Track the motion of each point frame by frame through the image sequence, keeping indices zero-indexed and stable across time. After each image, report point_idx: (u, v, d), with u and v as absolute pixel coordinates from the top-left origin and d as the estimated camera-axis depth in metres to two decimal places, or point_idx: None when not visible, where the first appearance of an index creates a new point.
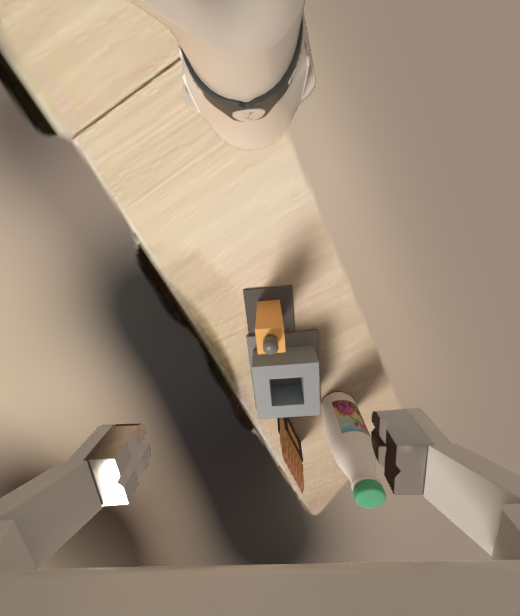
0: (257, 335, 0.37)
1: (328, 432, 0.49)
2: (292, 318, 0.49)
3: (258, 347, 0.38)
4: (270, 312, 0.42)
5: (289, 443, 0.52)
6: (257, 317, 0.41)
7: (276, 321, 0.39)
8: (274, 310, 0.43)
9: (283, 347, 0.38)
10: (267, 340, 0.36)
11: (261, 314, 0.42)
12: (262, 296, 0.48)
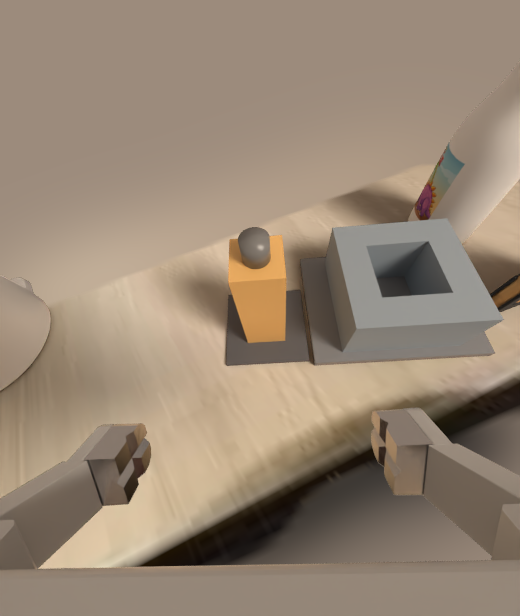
0: (242, 278, 0.19)
1: (480, 196, 0.26)
2: None
3: (269, 276, 0.19)
4: None
5: None
6: (237, 307, 0.22)
7: None
8: None
9: (271, 238, 0.20)
10: (239, 247, 0.18)
11: None
12: (240, 334, 0.30)
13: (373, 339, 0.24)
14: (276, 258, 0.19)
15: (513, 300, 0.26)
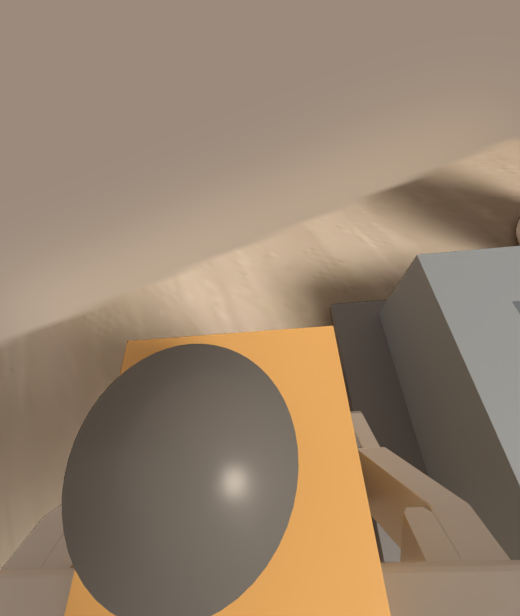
0: None
1: None
2: None
3: None
4: None
5: None
6: None
7: None
8: None
9: (291, 341, 0.05)
10: None
11: None
12: None
13: None
14: (322, 465, 0.04)
15: None
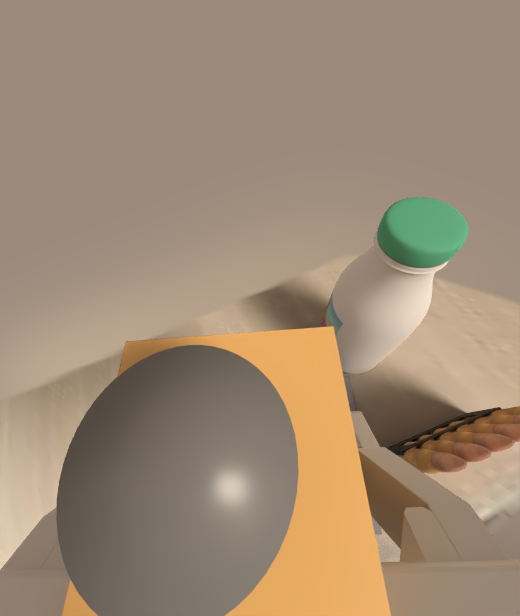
0: None
1: (366, 351, 0.23)
2: None
3: None
4: None
5: (434, 445, 0.20)
6: None
7: None
8: None
9: (291, 342, 0.05)
10: None
11: None
12: None
13: None
14: (322, 467, 0.04)
15: None
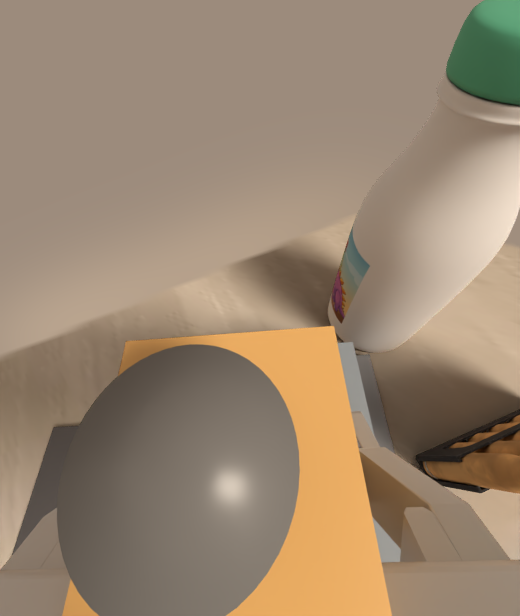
0: None
1: (403, 311, 0.16)
2: None
3: None
4: None
5: (515, 447, 0.13)
6: None
7: None
8: None
9: (291, 341, 0.05)
10: None
11: None
12: (46, 507, 0.19)
13: None
14: (322, 467, 0.04)
15: (458, 487, 0.16)
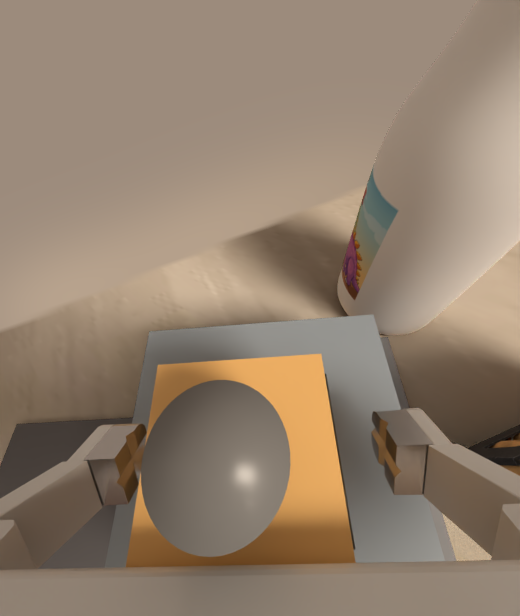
0: None
1: (438, 273, 0.13)
2: (101, 422, 0.18)
3: None
4: None
5: None
6: None
7: None
8: None
9: (288, 366, 0.06)
10: None
11: None
12: None
13: None
14: (310, 463, 0.05)
15: None
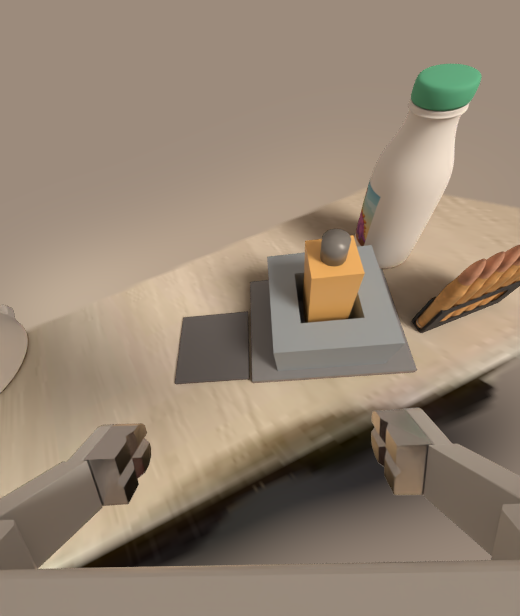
0: (323, 274, 0.21)
1: (400, 224, 0.28)
2: (229, 314, 0.35)
3: (349, 272, 0.21)
4: (305, 293, 0.27)
5: None
6: (309, 302, 0.25)
7: (305, 265, 0.24)
8: (304, 291, 0.28)
9: None
10: (323, 247, 0.20)
11: (307, 303, 0.26)
12: (190, 355, 0.32)
13: (297, 360, 0.26)
14: (352, 256, 0.21)
15: (433, 320, 0.28)
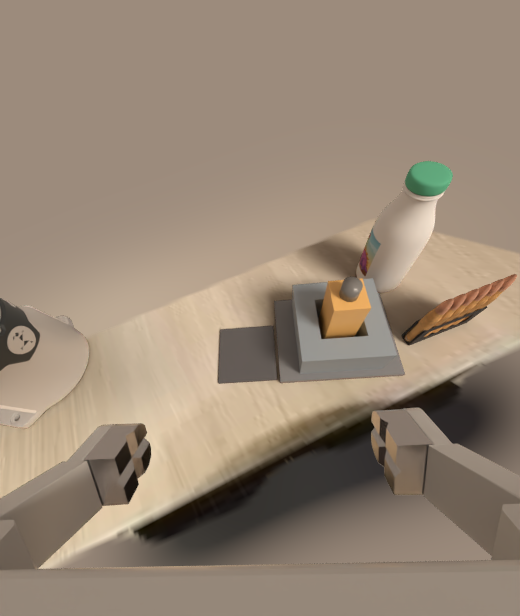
0: (342, 308, 0.30)
1: (394, 263, 0.38)
2: (258, 328, 0.43)
3: (360, 307, 0.30)
4: (324, 316, 0.36)
5: None
6: (328, 324, 0.33)
7: (326, 297, 0.33)
8: (322, 314, 0.37)
9: None
10: (343, 289, 0.29)
11: (326, 324, 0.35)
12: (228, 360, 0.41)
13: (317, 366, 0.35)
14: (362, 294, 0.30)
15: (418, 337, 0.37)
